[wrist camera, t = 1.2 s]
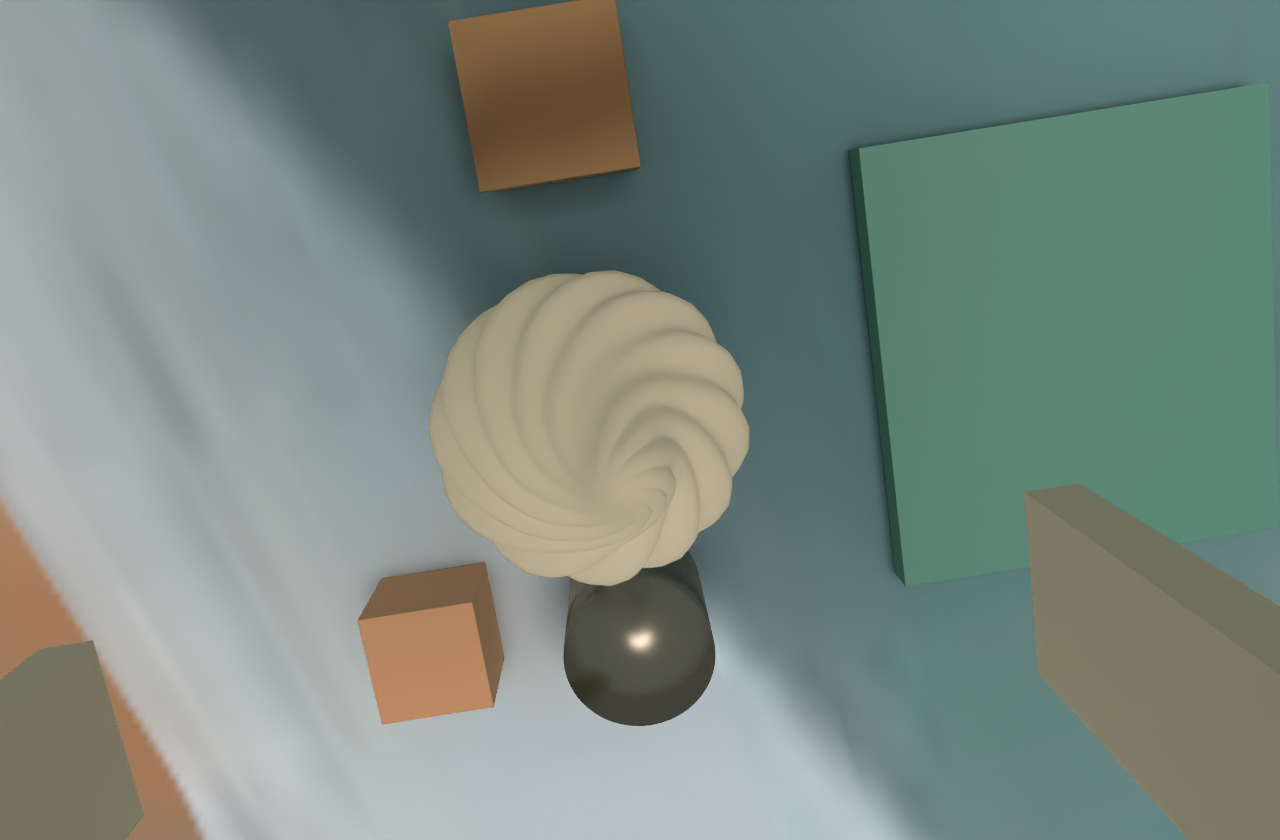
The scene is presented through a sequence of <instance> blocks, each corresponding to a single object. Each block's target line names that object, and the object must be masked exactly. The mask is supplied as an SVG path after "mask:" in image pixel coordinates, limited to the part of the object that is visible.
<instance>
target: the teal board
mask: <svg viewBox="0 0 1280 840" xmlns="http://www.w3.org/2000/svg"><path fill="white" fill-rule="evenodd" d="M849 154H850V163H851V172H852V181H853V191H854V200H855V209H856V218H857V228H858V237H859V246H860V255H861V264H862V274H863V283H864V292H865V301H866V310H867V320H868V329H869V338H870V347H871V356H872V366H873V375H874V384H875V393H876V403H877V412H878V421H879V430H880V439H881V449H882V458H883V467H884V476H885V485H886V495H887V504H888V513H889V522H890V532H891V541H892V550H893V559H894V568H895V573H896V574H897V576H898V577H899V578H900V580H901V581H902V582H903V584H904V585H905V586H906V587H907V586H914V585H920V584H926V583H933V582H939V581H945V580H952V579H958V578H964V577H971V576H977V575H983V574H990V573H996V572H1002V571H1009V570H1015V569H1021V568H1028V567H1030V559H1029V546H1028V534H1027V521H1026V509H1025V497H1024V492H1028V491H1034V490H1040V489H1046V488H1053V487H1059V486H1065V485H1072V484H1078V483H1079V484H1081V485H1082V486H1084V487H1086V488H1087V489H1089V490H1090V491H1092V492H1094V493H1095V494H1097V495H1099V496H1100V497H1102V498H1103V499H1105V500H1107V501H1108V502H1110V503H1112V504H1113V505H1115V506H1117V507H1118V508H1120V509H1121V510H1123V511H1125V512H1126V513H1128V514H1130V515H1131V516H1133V517H1134V518H1136V519H1138V520H1139V521H1141V522H1143V523H1144V524H1146V525H1148V526H1149V527H1151V528H1152V529H1154V530H1156V531H1157V532H1159V533H1161V534H1162V535H1164V536H1165V537H1167V538H1169V539H1170V540H1172V541H1174V542H1175V543H1177V544H1180V543H1186V542H1192V541H1199V540H1205V539H1211V538H1218V537H1224V536H1230V535H1237V534H1243V533H1249V532H1256V531H1262V530H1268V529H1275V528H1278V481H1277V433H1276V385H1275V337H1274V289H1273V241H1272V193H1271V146H1270V98H1269V82H1268V83H1261V84H1255V85H1249V86H1243V87H1237V88H1230V89H1224V90H1218V91H1212V92H1206V93H1199V94H1193V95H1187V96H1181V97H1174V98H1168V99H1162V100H1156V101H1150V102H1143V103H1137V104H1131V105H1125V106H1119V107H1112V108H1106V109H1100V110H1094V111H1088V112H1081V113H1075V114H1069V115H1063V116H1057V117H1050V118H1044V119H1038V120H1032V121H1025V122H1019V123H1013V124H1007V125H1001V126H994V127H988V128H982V129H976V130H970V131H963V132H957V133H951V134H945V135H939V136H932V137H926V138H920V139H914V140H908V141H901V142H895V143H889V144H883V145H876V146H870V147H864V148H858V149H852V150H849Z"/></svg>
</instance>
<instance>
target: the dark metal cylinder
mask: <svg viewBox="0 0 1280 840" xmlns="http://www.w3.org/2000/svg"><path fill="white" fill-rule="evenodd" d="M714 665H715V644H714V640H713V635H712V631H711V627H710V622H709V618H708V613H707V609H706V604H705V600H704V596H703V591H702V587H701V582H700V578H699V574H698V570H697V567H696V564H695V562H694V560H693V558H692V556H691V555H690V554H689V552H688V551H687V552H686V553H685V554H684V555H683V557H682V558H680V559H678V560H676V561H674V562H671V563H669V564H667V565H665V566H663V567H654V568H642V569H641V570H640V571H639V572H638V574H636V575H635V576H634V577H632V578H631V579H630V580H627V581H624V582H621V583H618V584H616V585H613V586H605V585H591V584H586V583H582V582H579V581H577V580H575V579H572V578H571V585H570V595H569V605H568V614H567V624H566V634H565V644H564V667H565V672H566V675H567V679H568V681H569V683H570V686H571V687H572V689H573V691H574V693H575V694H576V695H577V697H578V698H579V699H580V700H581V702H582V703H583V704H584V705H586V706H587V707H588V708H589V709H590V710H592V711H593V712H594V713H596V714H597V715H599V716H601V717H603V718H605V719H607V720H610V721H612V722H616V723H619V724H624V725H631V726H645V725H653V724H658V723H662V722H665V721H667V720H670V719H672V718H674V717H676V716H678V715H680V714H681V713H683V712H685V711H686V710H687V709H689V708H690V707H691V706H692V705H693V704H694V703H695V702H696V701H697V700H698V699H699V698H700V697H701V695H702V694H703V692H704V691H705V689H706V688H707V686H708V684H709V682H710V679H711V676H712V674H713V670H714Z"/></svg>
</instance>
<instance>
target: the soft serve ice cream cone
mask: <svg viewBox="0 0 1280 840" xmlns="http://www.w3.org/2000/svg"><path fill="white" fill-rule="evenodd" d="M743 398H744V388H743V381H742V375H741V370H740V369H739V367H738V365H737V364H736V362H735V361H734V359H733V357H732V356H731V354H730V353H729V352H728V351H727V350H726V349H724V348H723V347H722V346H721V345H719V344H717V343H716V339H715V336H714V334H713V332H712V330H711V328H710V325H709V323H708V321H707V319H706V318H705V317H704V316H703V315H702V314H701V313H700V312H699V311H698V310H697V309H696V308H695V307H694V306H693V305H692V304H691V303H689V302H687V301H685V300H683V299H681V298H679V297H677V296H675V295H672V294H670V293H666V292H662V291H660V290H659V289H657V288H656V287H655V286H653V285H651V284H650V283H648V282H647V281H645V280H643V279H642V278H640V277H638V276H635V275H631V274H627V273H624V272H620V271H616V270H612V271H599V272H589V273H586V274H584V275H581V274H551V275H547V276H544V277H540V278H537V279H533V280H530V281H528V282H526V283H525V284H523V285H521V286H520V287H518V288H517V289H515V290H514V291H512V292H511V293H509V294H508V295H506V296H505V297H504V298H503V299H502V301H501V302H500V303H499V304H498V305H496V306H494V307H492V308H490V309H488V310H487V311H485V312H483V313H481V314H480V315H479V316H478V317H477V318H476V319H475V320H474V321H473V322H471V323H470V324H469V325H468V326H467V327H466V328H465V329H464V330H463V331H462V332H461V334H460V335H459V337H458V339H457V340H456V342H455V344H454V346H453V347H452V349H451V351H450V353H449V354H448V357H447V362H446V367H445V372H444V377H443V379H442V381H441V382H440V384H439V385H438V388H437V391H436V394H435V397H434V400H433V403H432V406H431V409H430V431H429V438H430V441H431V444H432V447H433V450H434V453H435V456H436V459H437V462H438V464H439V465H440V467H441V471H442V477H443V483H444V488H445V493H446V495H447V497H448V499H449V501H450V503H451V505H452V507H453V509H454V511H455V513H456V515H457V516H458V517H459V518H460V519H461V520H462V521H463V522H464V523H466V524H467V525H468V526H469V527H470V528H471V529H472V530H473V531H474V532H476V533H478V534H480V535H482V536H484V537H486V538H487V539H489V540H491V541H492V543H493V544H494V545H495V546H496V548H497V549H498V550H499V551H500V552H501V554H502V555H503V556H504V557H505V559H506V560H508V561H509V562H511V563H512V564H514V565H515V566H517V567H518V568H520V569H521V570H523V571H524V572H526V573H530V574H535V575H539V576H543V577H553V578H558V577H564V576H568V577H570V578H572V579H575V580H577V581H579V582H582V583H586V584H591V585H605V586H613V585H616V584H618V583H621V582H624V581H627V580H630V579H631V578H632V577H634V576H635V575H636V574H638V572H639V571H640V570H641V569H642V568H654V567H663V566H665V565H667V564H669V563H671V562H674V561H676V560H678V559H680V558H682V557H683V555H684V554H685V553H686V552H687V550H688V549H689V548H690V547H691V546H692V544H693V543H694V541H695V539H696V538H697V536H698V532H700V531H702V530H704V529H706V528H708V527H710V526H711V525H712V524H714V523H715V522H716V521H718V519H719V518H720V517H721V515H722V514H723V513H724V511H725V510H726V508H727V507H728V506H729V504H730V497H731V490H732V477H733V476H734V475H735V473H736V472H737V471H738V469H739V468H740V466H741V464H742V462H743V460H744V458H745V456H746V454H747V452H748V450H749V427H748V423H747V419H746V418H745V416H744V414H743V412H742V410H741V408H742V404H743Z"/></svg>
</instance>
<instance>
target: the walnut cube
mask: <svg viewBox="0 0 1280 840" xmlns="http://www.w3.org/2000/svg"><path fill="white" fill-rule="evenodd" d="M448 25H449V30H450V36H451V41H452V46H453V52H454V57H455V63H456V68H457V73H458V79H459V84H460V89H461V95H462V100H463V105H464V111H465V116H466V121H467V127H468V132H469V138H470V143H471V148H472V154H473V159H474V164H475V170H476V175H477V180H478V186H479V191H480V192H500V191H506V190H512V189H518V188H524V187H531V186H537V185H543V184H549V183H555V182H562V181H568V180H574V179H580V178H586V177H593V176H599V175H605V174H611V173H617V172H624V171H630V170H636V169H638V168H639V167H640V166H641V164H640V158H639V151H638V145H637V138H636V132H635V125H634V119H633V112H632V105H631V99H630V92H629V86H628V79H627V73H626V66H625V60H624V53H623V46H622V40H621V33H620V27H619V20H618V14H617V7H616V0H576V1H570V2H564V3H558V4H551V5H545V6H539V7H533V8H527V9H521V10H515V11H508V12H502V13H496V14H490V15H484V16H478V17H471V18H465V19H459V20H453V21H448Z"/></svg>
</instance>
